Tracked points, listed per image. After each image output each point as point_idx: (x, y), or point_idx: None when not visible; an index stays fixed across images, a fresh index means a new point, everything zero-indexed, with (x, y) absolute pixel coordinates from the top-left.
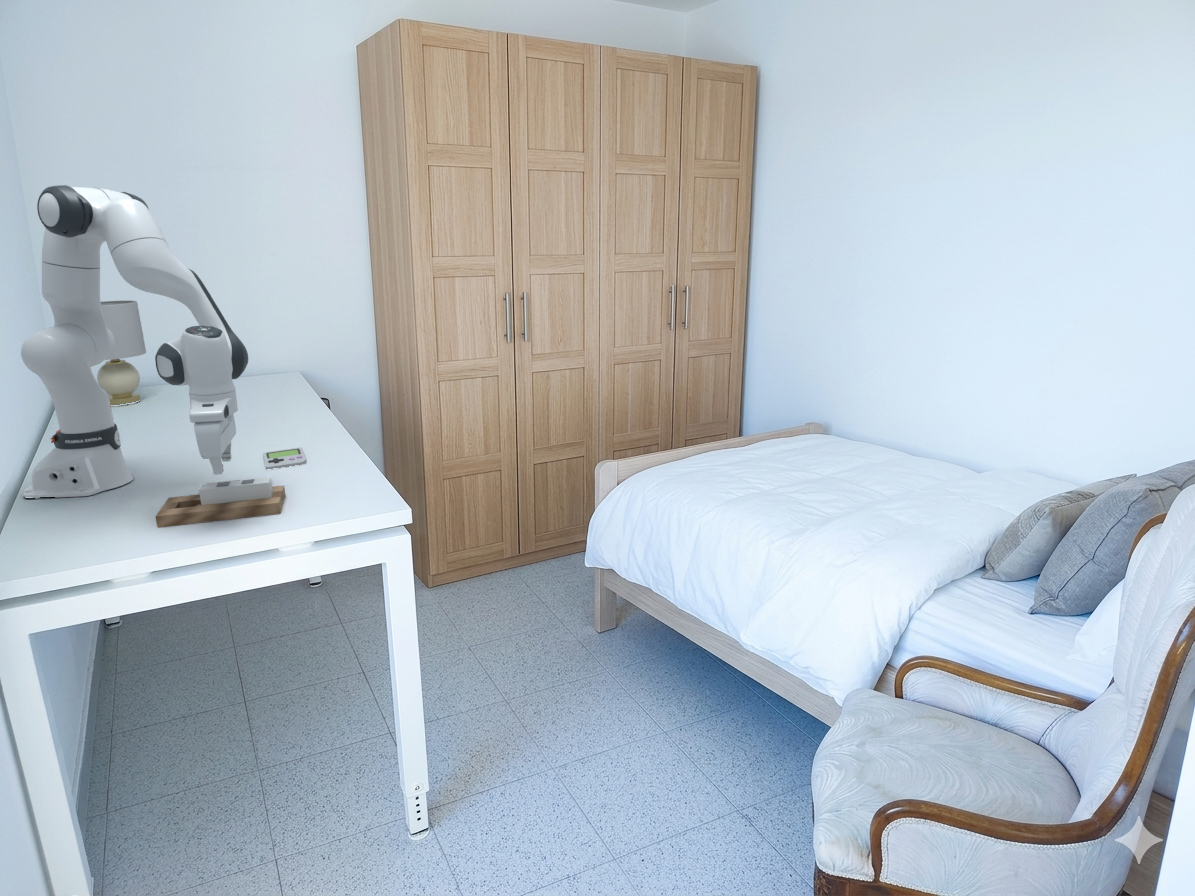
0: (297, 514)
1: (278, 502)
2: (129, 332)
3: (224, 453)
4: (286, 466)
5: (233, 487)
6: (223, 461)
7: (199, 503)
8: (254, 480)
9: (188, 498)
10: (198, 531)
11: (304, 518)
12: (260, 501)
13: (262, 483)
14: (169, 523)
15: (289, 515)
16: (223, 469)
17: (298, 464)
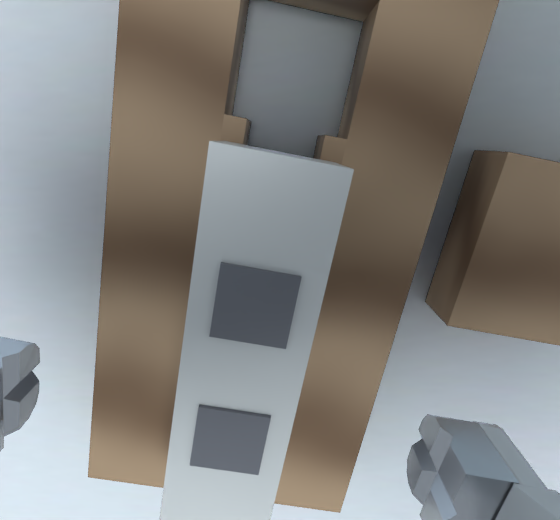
0: (73, 485)
1: (92, 476)
2: None
3: (480, 506)
4: None
5: (181, 356)
6: (423, 419)
7: (344, 127)
8: (242, 470)
9: (414, 63)
10: (6, 112)
11: (16, 500)
12: (143, 414)
13: (162, 500)
14: None
15: (74, 462)
16: (19, 427)
17: None
